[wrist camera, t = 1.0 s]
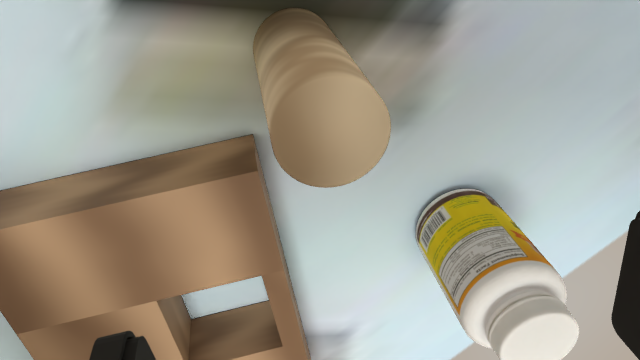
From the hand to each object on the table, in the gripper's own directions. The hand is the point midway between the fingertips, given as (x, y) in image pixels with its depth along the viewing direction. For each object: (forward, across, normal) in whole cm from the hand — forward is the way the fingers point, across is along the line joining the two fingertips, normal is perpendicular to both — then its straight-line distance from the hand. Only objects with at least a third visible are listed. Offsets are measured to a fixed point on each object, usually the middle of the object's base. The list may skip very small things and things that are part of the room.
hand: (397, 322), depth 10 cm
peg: (+18, 0, 0) cm, 18 cm away
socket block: (+18, +10, +13) cm, 24 cm away
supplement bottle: (+19, -8, +13) cm, 24 cm away
